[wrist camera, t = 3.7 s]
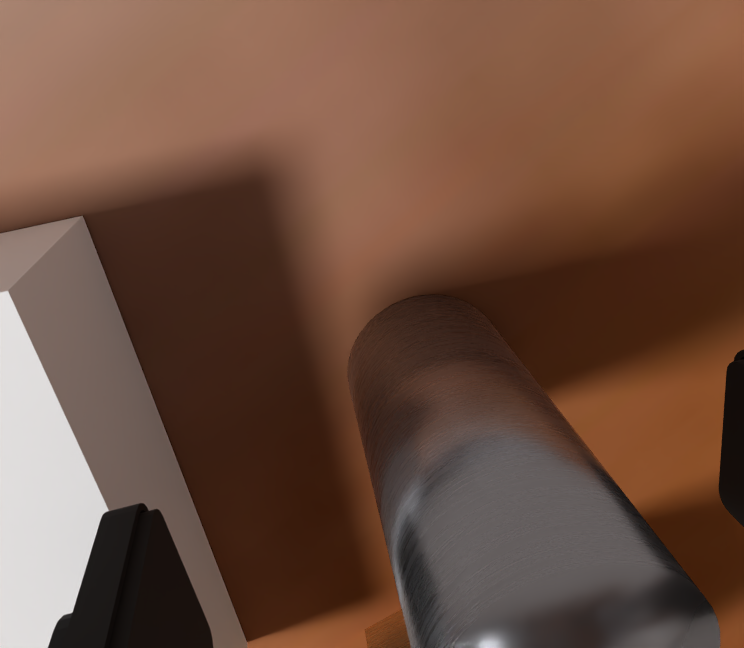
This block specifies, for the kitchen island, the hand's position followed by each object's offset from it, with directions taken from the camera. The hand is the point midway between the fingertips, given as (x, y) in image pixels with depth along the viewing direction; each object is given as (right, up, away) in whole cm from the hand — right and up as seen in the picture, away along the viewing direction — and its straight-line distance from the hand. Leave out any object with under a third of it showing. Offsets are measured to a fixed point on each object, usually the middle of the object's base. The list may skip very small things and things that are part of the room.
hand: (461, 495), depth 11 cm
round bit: (0, +2, +4) cm, 5 cm away
